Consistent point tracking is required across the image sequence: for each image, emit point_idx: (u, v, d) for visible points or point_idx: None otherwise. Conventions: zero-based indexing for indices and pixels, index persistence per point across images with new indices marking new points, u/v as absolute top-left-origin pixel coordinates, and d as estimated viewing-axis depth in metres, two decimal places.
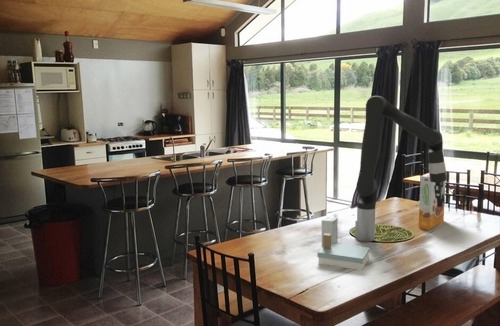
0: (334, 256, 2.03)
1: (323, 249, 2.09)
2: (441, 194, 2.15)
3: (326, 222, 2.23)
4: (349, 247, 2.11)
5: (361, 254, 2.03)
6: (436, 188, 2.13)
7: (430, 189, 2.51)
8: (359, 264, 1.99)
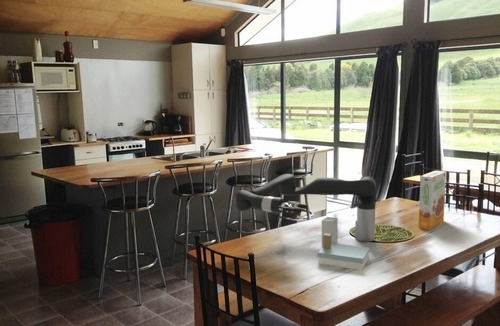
0: (334, 256, 2.03)
1: (323, 249, 2.09)
2: (295, 207, 2.20)
3: (326, 222, 2.23)
4: (349, 247, 2.11)
5: (361, 254, 2.03)
6: None
7: (430, 189, 2.51)
8: (359, 264, 1.99)
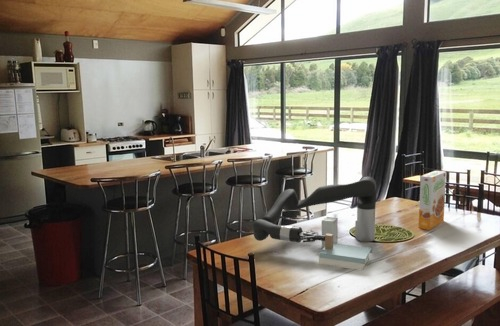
0: (336, 256, 2.02)
1: (325, 249, 2.09)
2: None
3: (326, 222, 2.23)
4: (351, 248, 2.11)
5: (363, 254, 2.02)
6: None
7: (430, 189, 2.51)
8: (359, 264, 1.99)
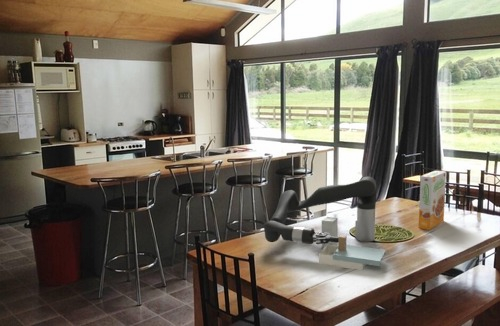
0: (350, 258, 2.00)
1: (338, 251, 2.06)
2: None
3: (326, 222, 2.23)
4: (364, 250, 2.08)
5: (377, 256, 2.00)
6: None
7: (430, 189, 2.51)
8: (359, 264, 1.99)
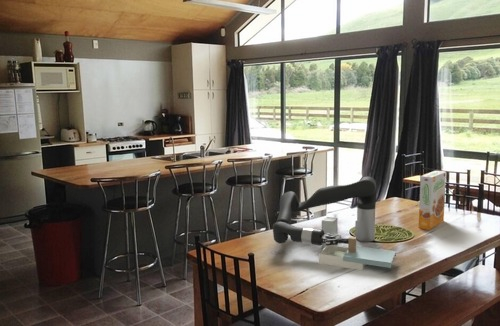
0: (360, 260, 1.98)
1: (348, 253, 2.04)
2: None
3: (326, 222, 2.23)
4: (374, 251, 2.06)
5: (388, 258, 1.98)
6: None
7: (430, 189, 2.51)
8: (359, 264, 1.99)
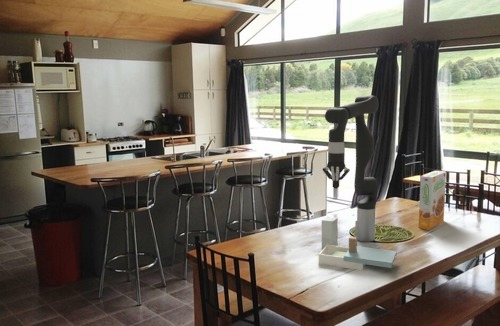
0: (361, 260, 1.98)
1: (349, 253, 2.04)
2: (332, 176, 2.10)
3: (326, 222, 2.23)
4: (375, 251, 2.06)
5: (389, 258, 1.98)
6: None
7: (430, 189, 2.51)
8: (359, 264, 1.99)
